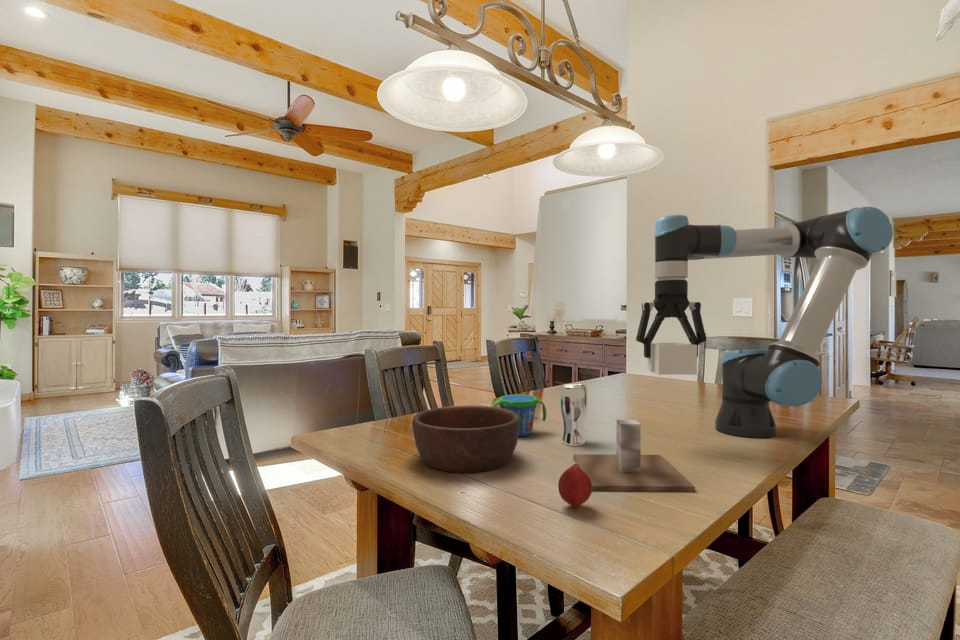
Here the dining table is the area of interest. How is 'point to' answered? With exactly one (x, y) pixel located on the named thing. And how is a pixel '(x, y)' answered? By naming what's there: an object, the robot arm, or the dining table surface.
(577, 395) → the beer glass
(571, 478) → the onion
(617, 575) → the dining table surface
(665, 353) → the white square sleeve
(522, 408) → the snack cup
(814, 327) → the robot arm
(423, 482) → the dining table surface
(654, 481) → the post base
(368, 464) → the dining table surface
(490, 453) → the wooden bowl
